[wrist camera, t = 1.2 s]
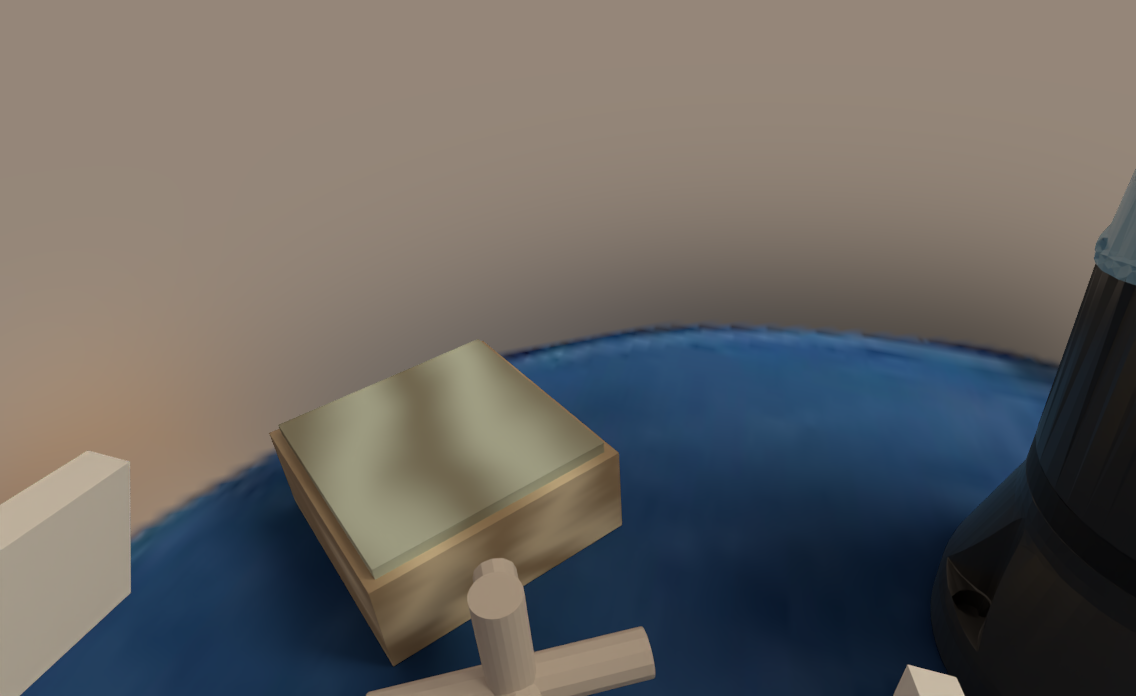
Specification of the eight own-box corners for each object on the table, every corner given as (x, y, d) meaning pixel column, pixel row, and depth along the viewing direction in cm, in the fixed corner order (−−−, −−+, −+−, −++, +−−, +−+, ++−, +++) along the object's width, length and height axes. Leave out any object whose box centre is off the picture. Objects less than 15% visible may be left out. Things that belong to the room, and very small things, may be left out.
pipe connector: (615, 622, 35) (606, 460, 29) (692, 861, 26) (701, 699, 21) (394, 675, 33) (340, 515, 27) (404, 945, 25) (329, 795, 19)
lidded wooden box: (493, 405, 48) (481, 332, 45) (621, 524, 39) (618, 443, 36) (295, 500, 42) (265, 424, 39) (393, 666, 33) (365, 584, 30)
